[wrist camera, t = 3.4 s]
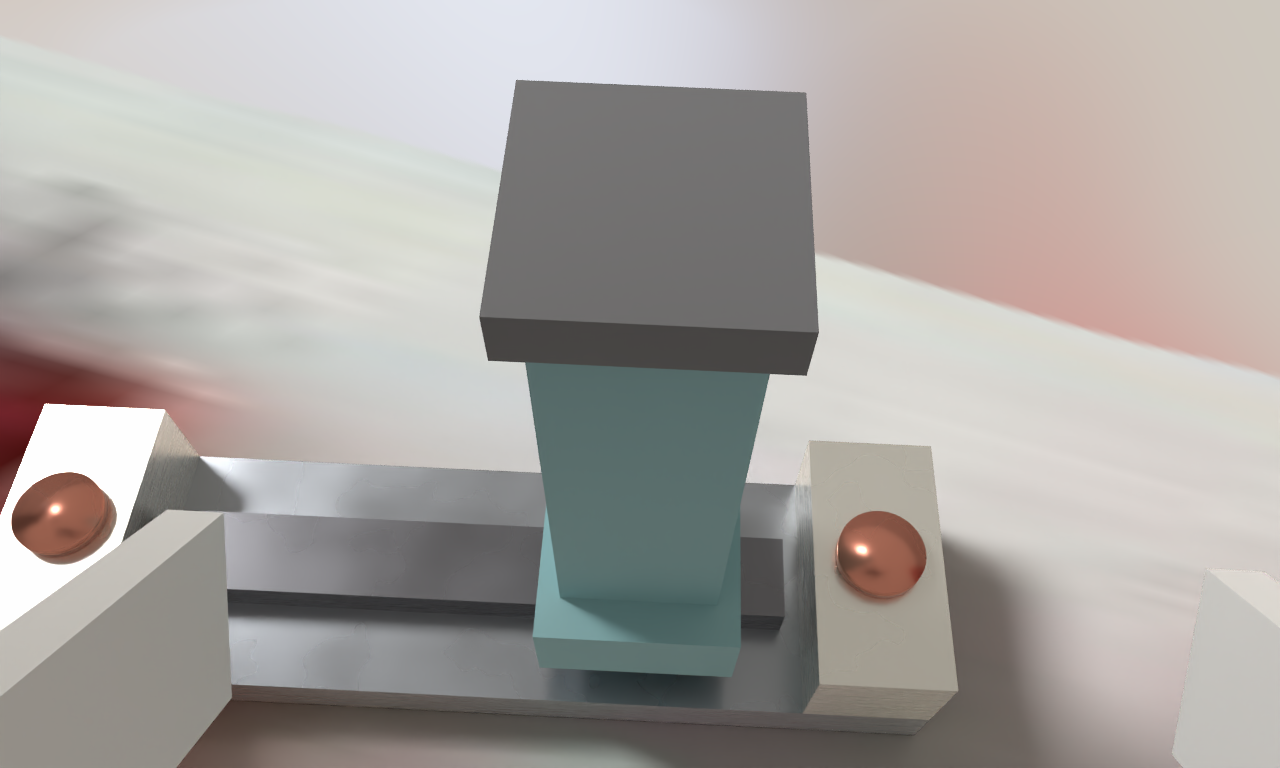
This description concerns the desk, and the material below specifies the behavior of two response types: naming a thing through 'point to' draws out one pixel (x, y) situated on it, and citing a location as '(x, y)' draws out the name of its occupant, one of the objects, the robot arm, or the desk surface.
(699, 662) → the carriage
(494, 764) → the desk surface
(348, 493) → the rail
